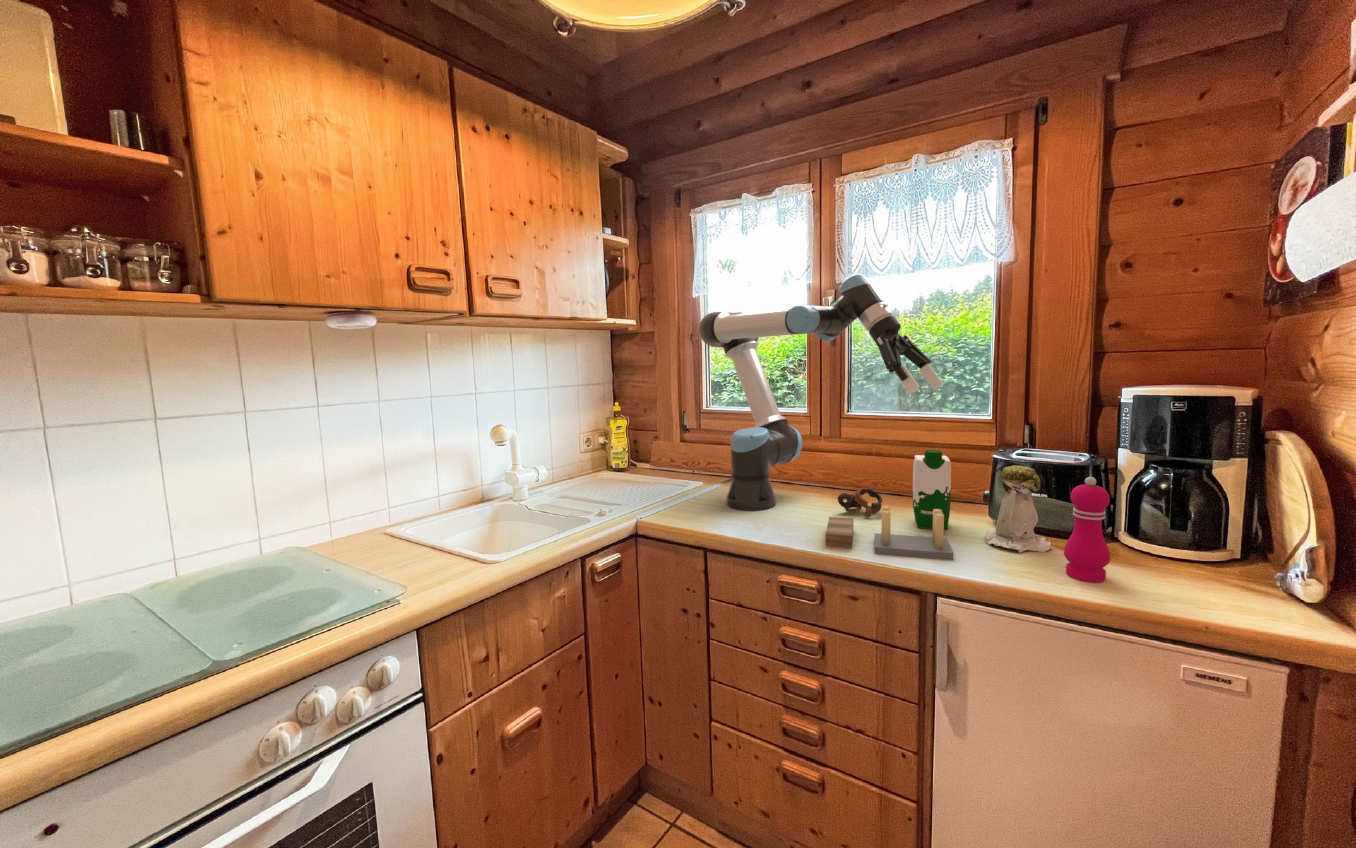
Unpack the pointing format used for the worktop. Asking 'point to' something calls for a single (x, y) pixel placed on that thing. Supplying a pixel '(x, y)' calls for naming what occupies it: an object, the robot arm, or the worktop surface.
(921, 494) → the milk carton
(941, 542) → the peg stand
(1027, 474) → the mushroom sculpture
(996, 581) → the worktop surface
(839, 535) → the brown rectangular block
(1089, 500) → the pepper mill
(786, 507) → the worktop surface
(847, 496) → the twisted brown knot
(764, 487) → the robot arm
